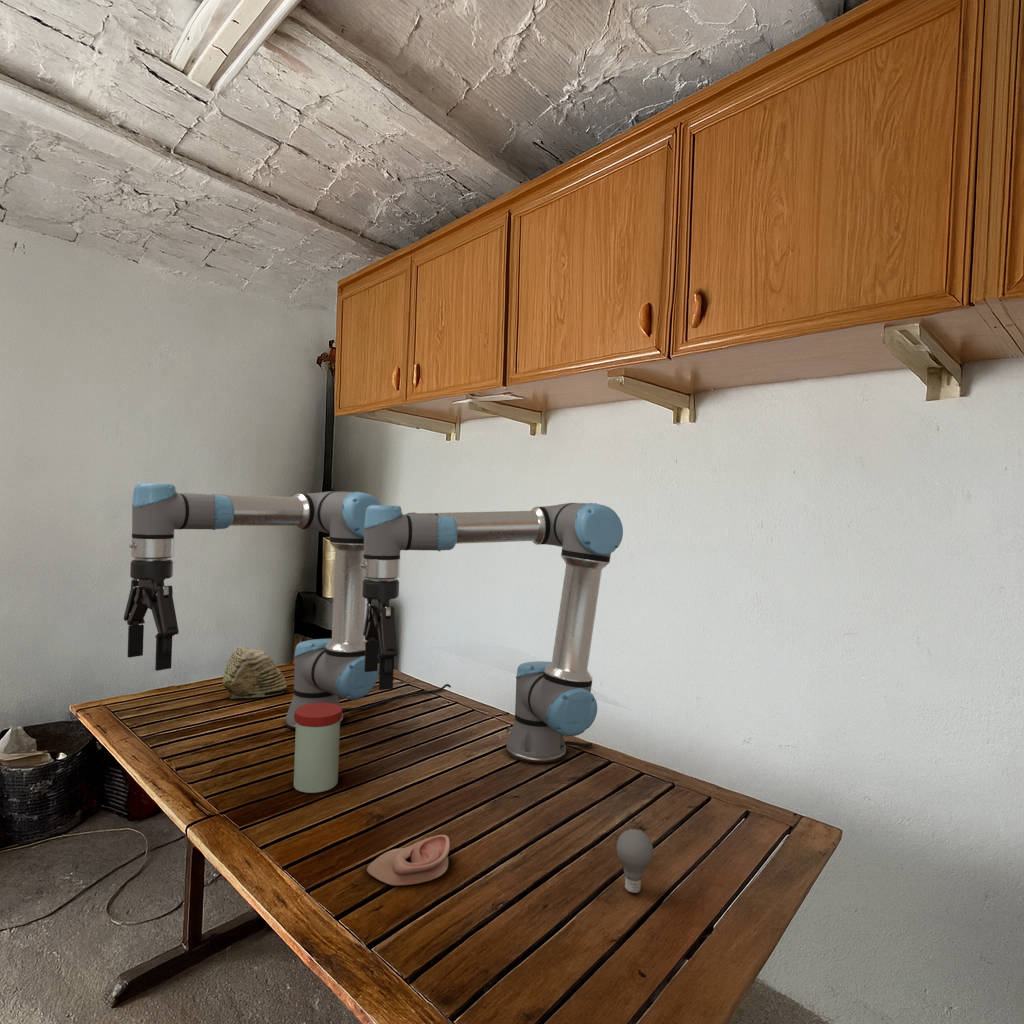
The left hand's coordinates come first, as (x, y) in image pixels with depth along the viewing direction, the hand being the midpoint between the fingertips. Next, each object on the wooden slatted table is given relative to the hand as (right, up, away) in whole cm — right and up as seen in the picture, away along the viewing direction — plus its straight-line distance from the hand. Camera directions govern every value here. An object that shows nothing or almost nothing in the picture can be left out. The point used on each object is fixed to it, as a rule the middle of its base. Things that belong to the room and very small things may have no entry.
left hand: (148, 662), depth 129 cm
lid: (+32, -13, +10) cm, 36 cm away
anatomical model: (+56, -31, -20) cm, 67 cm away
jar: (+31, -29, +11) cm, 44 cm away
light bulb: (+94, -33, -24) cm, 103 cm away
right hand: (+46, -4, +3) cm, 46 cm away
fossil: (-6, -27, +69) cm, 74 cm away
